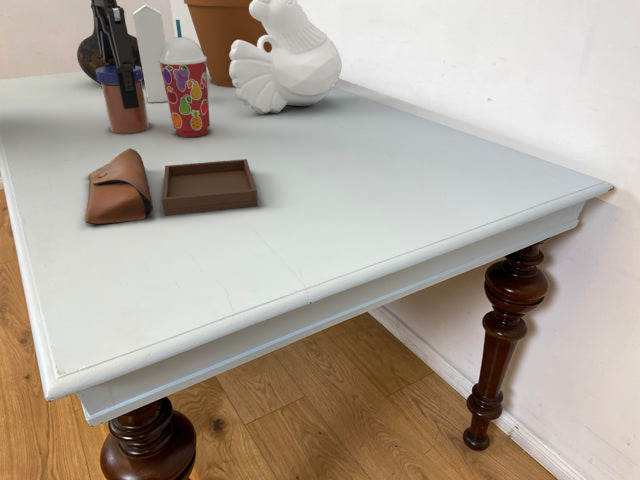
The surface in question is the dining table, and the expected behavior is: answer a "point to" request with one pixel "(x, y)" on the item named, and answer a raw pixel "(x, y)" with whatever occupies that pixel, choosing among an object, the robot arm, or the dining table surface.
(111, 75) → the lid
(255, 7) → the decorative rooster
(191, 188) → the tray
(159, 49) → the milk
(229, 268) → the dining table surface
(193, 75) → the smoothie
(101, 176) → the sunglasses case
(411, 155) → the dining table surface
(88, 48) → the dark brown vase
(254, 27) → the flowerpot
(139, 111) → the jar
